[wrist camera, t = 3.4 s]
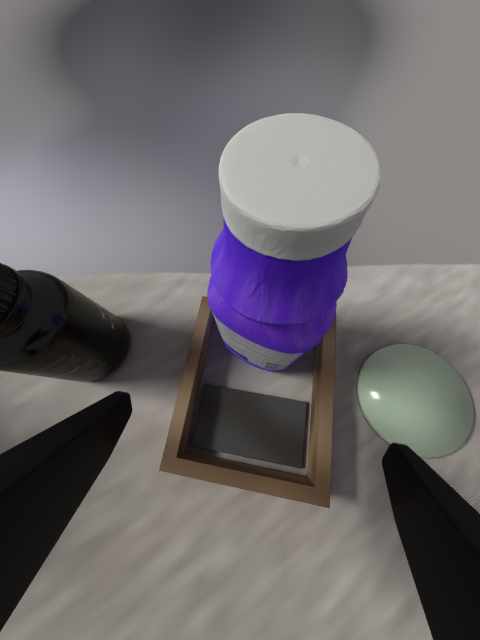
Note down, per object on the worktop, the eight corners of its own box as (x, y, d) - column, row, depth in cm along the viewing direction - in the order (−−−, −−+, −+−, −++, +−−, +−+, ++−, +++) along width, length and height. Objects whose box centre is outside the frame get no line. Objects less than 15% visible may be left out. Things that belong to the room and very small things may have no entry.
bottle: (308, 331, 22) (475, 127, 6) (284, 385, 20) (419, 316, 4) (242, 300, 24) (223, 65, 7) (214, 348, 22) (108, 188, 6)
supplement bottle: (140, 317, 23) (37, 238, 12) (120, 387, 21) (-30, 369, 10) (78, 310, 24) (-77, 229, 13) (51, 377, 22) (-165, 350, 10)
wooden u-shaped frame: (319, 493, 18) (329, 508, 15) (170, 461, 19) (159, 470, 16) (327, 324, 22) (336, 314, 20) (207, 306, 23) (202, 296, 21)
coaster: (491, 415, 19) (499, 415, 18) (410, 480, 18) (416, 483, 17) (409, 327, 22) (414, 325, 21) (334, 379, 20) (337, 378, 20)
